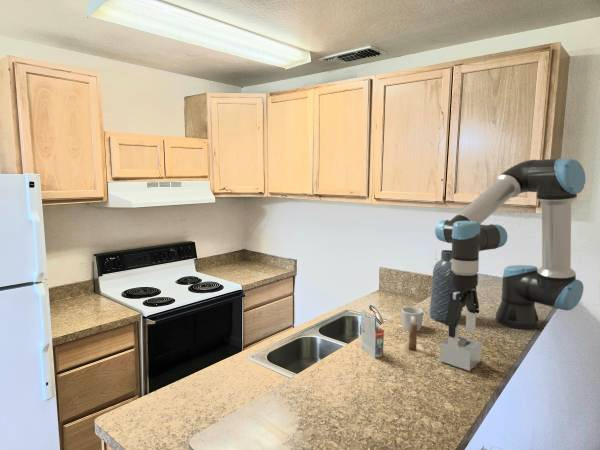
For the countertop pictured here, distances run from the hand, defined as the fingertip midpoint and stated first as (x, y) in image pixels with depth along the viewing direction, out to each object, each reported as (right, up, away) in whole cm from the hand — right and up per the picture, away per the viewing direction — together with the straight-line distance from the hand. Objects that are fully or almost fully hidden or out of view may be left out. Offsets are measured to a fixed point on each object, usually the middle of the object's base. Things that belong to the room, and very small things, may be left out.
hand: (461, 339), depth 118 cm
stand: (-12, -7, +10) cm, 17 cm away
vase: (+10, -4, +41) cm, 42 cm away
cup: (-8, -5, +27) cm, 28 cm away
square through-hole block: (0, -7, 0) cm, 7 cm away
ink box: (-26, -8, +8) cm, 29 cm away
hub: (0, -8, +1) cm, 8 cm away
